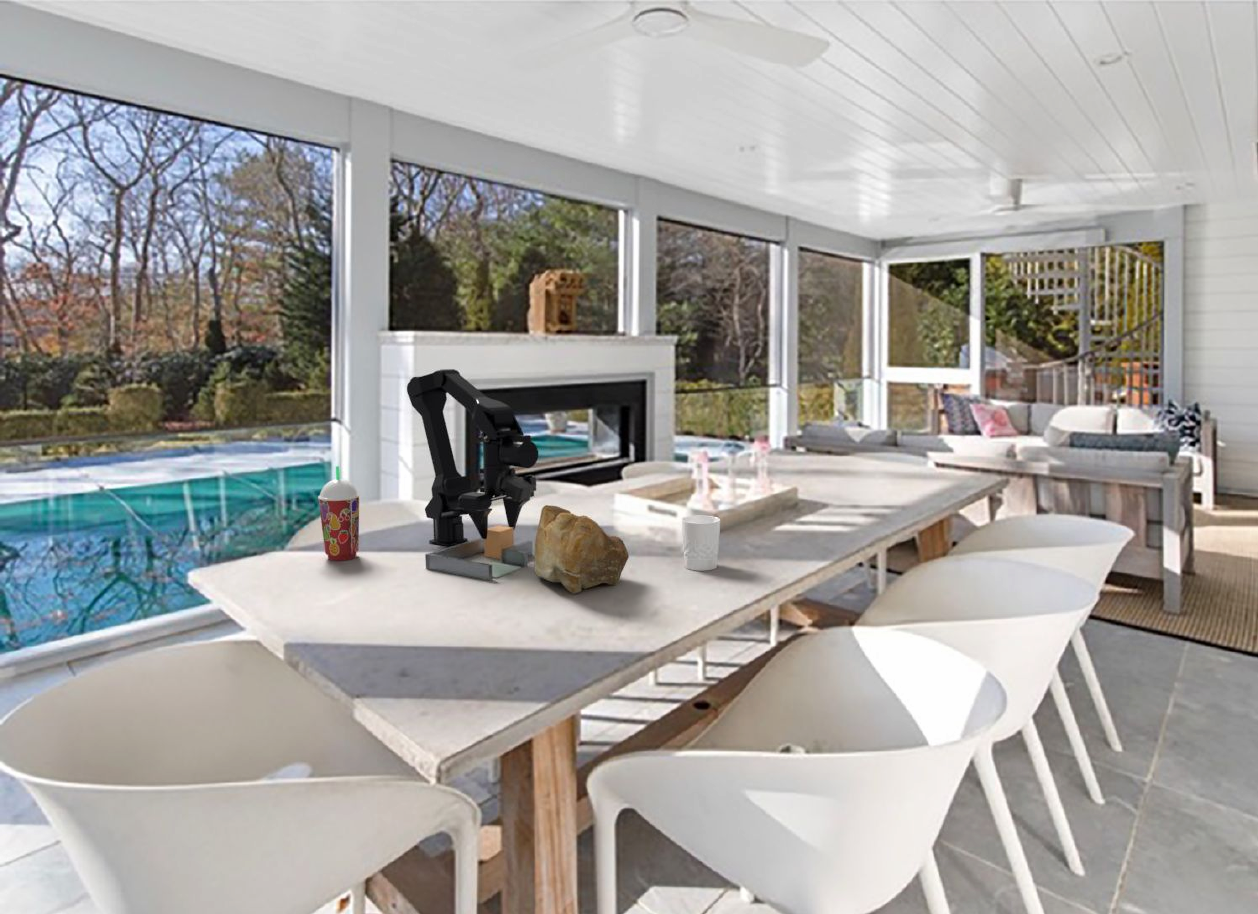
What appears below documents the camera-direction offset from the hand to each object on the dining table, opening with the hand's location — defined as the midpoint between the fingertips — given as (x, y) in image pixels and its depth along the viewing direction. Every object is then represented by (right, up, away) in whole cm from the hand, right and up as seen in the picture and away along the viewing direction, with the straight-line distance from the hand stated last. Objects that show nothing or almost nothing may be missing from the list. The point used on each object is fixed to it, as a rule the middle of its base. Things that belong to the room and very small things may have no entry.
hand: (498, 534), depth 173 cm
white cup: (+43, -6, -9) cm, 45 cm away
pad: (+1, -6, -11) cm, 13 cm away
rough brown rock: (+20, -8, -20) cm, 29 cm away
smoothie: (-34, -5, -1) cm, 34 cm away
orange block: (0, -5, +1) cm, 5 cm away
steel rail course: (-1, -5, -6) cm, 8 cm away
